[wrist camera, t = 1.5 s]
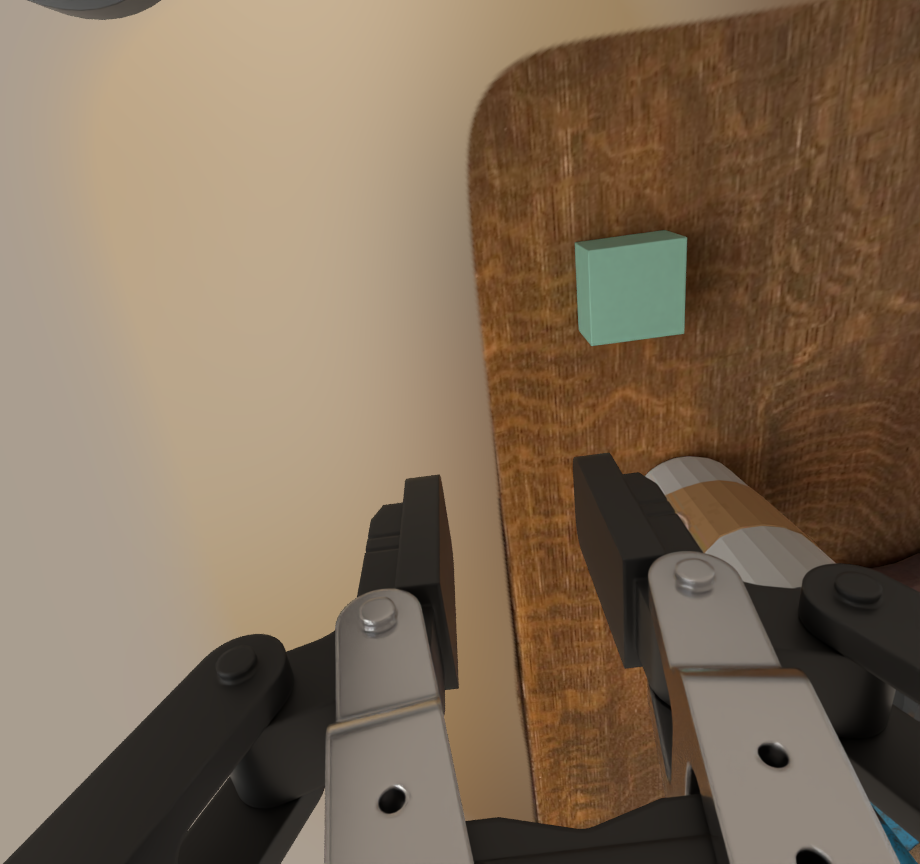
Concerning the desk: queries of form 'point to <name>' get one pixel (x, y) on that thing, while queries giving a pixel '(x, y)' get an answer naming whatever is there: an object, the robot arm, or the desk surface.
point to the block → (631, 287)
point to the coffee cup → (743, 529)
